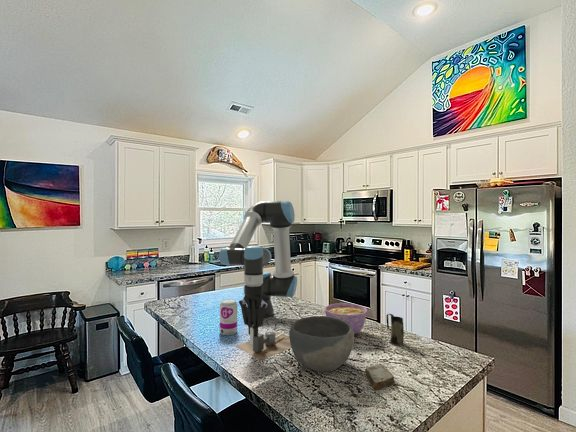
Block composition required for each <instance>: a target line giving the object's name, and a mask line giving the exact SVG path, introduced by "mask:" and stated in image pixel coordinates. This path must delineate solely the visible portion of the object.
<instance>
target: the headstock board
mask: <svg viewBox="0 0 576 432" xmlns="http://www.w3.org/2000/svg"><path fill="white" fill-rule="evenodd" d="M281 333H282V332H278V331H277V332H275V337H276V336H277V335H279V334H281ZM264 337H265V334H264ZM234 347H235V348H237V349H239V350H241V351H243V352H246V353H247V354H250V355H252V356H253V357H255V358H257V359H259V360H265V359H267V358H269V357H270V358H271V357H272V356H275V355H277V354H280V353H283V352H285V351H288V350H292V347H291V344H290V338H289V335H286V334H283V335H282V336H280V337H278V338H276V339H275V345H273V346H267V345H265V343H264V349H263V350H261V351H260V352H258V353H257V352H253V344H250V340H248V341H246V342H243V343H240V344H236V345H235V346H234Z"/></svg>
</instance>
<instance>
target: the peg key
mask: <svg viewBox="0 0 576 432" xmlns="http://www.w3.org/2000/svg"><path fill="white" fill-rule="evenodd" d="M275 333H276V332H275V331H266V332H265V333H264V334H262V333H260V332H258V335H257V336H253V352H257V353H258V352H260V351H261V350H263V349H264V343H265V345H267V346H273V345H275V339H276V338H278V337H280V336H282V335H285V332H280V333H281V334H279V335H277V336H276V337H275ZM264 335H265V337H264Z"/></svg>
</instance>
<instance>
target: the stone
mask: <svg viewBox="0 0 576 432" xmlns="http://www.w3.org/2000/svg"><path fill="white" fill-rule="evenodd" d="M364 370H365V371H364V375H365V377H366V379H367V380H368V381H367V382H369V384H370V386H371V387H372V389H373V390H374V391H375V392H376V391H377V392H378V391H381V390H383V389H385V388H388V387H390V386H394V384H395V377H394V375H393V373H392V372H391V371H390V370H388V369H386V367H385V366H384V365H383V364H382V363H381V364H379V363H378V364H374V365H370V366H366V367H365V369H364Z"/></svg>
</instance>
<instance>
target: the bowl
mask: <svg viewBox="0 0 576 432" xmlns="http://www.w3.org/2000/svg"><path fill="white" fill-rule="evenodd" d="M288 336H289V338H290V344H291V347H292V348H291V350H292V353H293V354H294V357H295V358H296V360H297V361H298V362H299V363H300V364H301V365H303V366H304V367H305V368H308V369H309V370H312V371H316V372H322V373H325V372H327V373H328V372H333V371H335V370H337V369H338V368H340V367H341V366H342V365H344V364H345V363H346V362H347V361H348V360H349V357H350V355H351V354H352V353H351V352H352V350H353V347H354V343H355V334H354V331H353V329H352V327H351V326H350V325H349V324H348V323H347V322H345V321H343V320H340V319H336V318H332V317H326V315H325V316H324V315H320V316H319V315H315V316H307V317H302V318H299V319H297V320H296V321H294V322H293V323H291V325H290V328H289V333H288Z"/></svg>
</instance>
